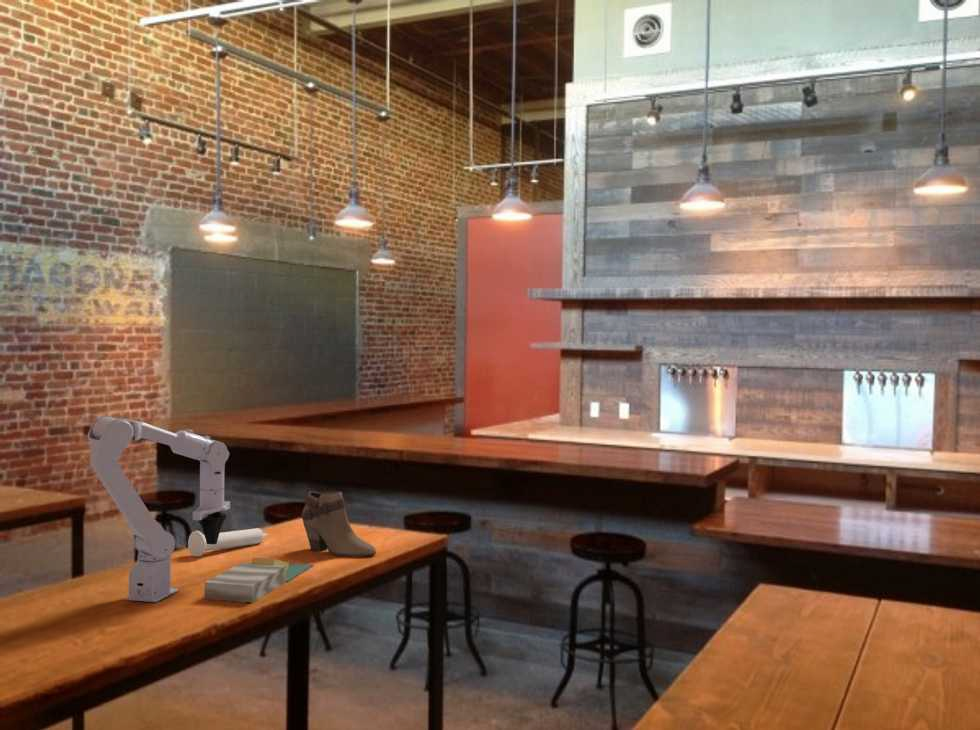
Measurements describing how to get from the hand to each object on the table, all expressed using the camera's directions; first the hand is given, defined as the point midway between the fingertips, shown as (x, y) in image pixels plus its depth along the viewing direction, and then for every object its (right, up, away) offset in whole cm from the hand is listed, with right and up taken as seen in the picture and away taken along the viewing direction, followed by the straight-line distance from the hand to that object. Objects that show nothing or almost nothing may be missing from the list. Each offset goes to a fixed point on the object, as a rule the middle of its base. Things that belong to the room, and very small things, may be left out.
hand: (211, 543), depth 214 cm
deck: (+10, -10, -5) cm, 15 cm away
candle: (-13, -5, +25) cm, 29 cm away
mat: (+13, -10, +12) cm, 20 cm away
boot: (+25, -10, +34) cm, 43 cm away
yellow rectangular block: (+12, -8, +8) cm, 17 cm away
